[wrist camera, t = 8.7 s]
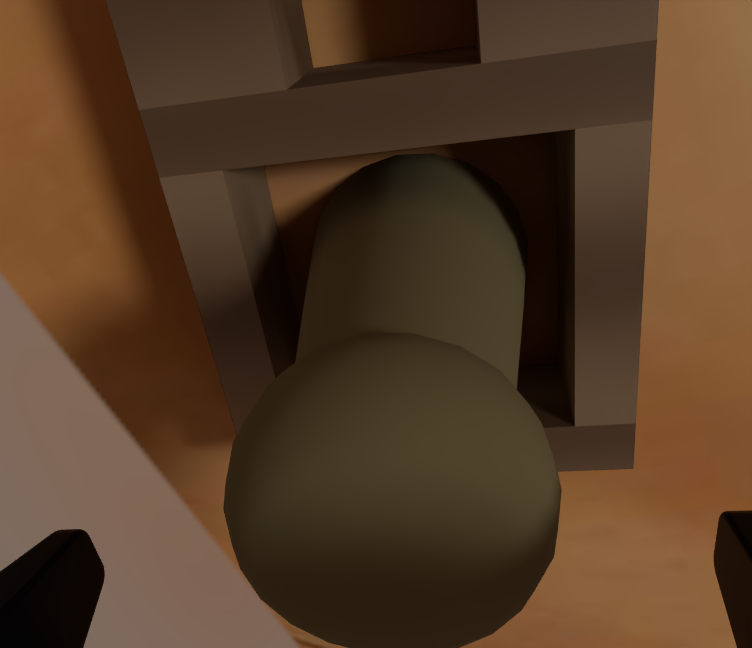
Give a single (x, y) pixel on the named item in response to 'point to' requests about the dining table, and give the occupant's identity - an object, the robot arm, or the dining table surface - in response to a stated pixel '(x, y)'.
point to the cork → (401, 423)
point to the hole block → (404, 131)
